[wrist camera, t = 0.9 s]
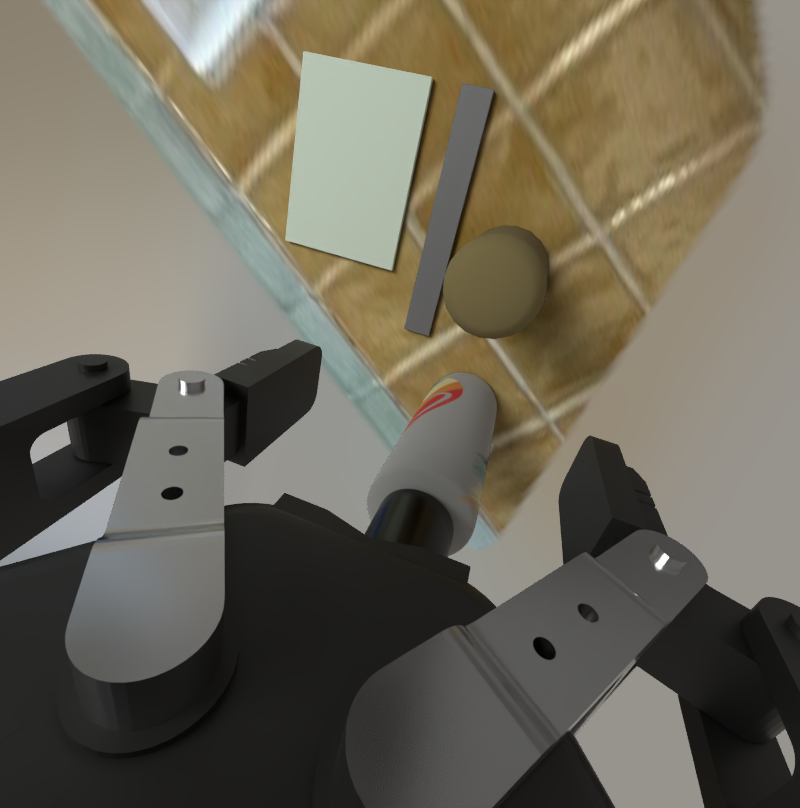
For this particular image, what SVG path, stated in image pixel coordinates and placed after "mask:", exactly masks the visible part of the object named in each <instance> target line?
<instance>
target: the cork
mask: <svg viewBox="0 0 800 808" xmlns="http://www.w3.org/2000/svg"><path fill="white" fill-rule="evenodd" d="M548 271H549V263H548V256H547V252H546V250H545V248H544V246H543V245H542V243H541V241H540V240H539V239H538V238H537V237H536V236H535V235H534V234H532V233H531V232H530V231H528V230H525V229H523V228H520V227H518V226H500V227H497V228H493V229H490V230H488V231H486V232H485V233H484V234H482V235H481V236H479V237H478V238H474V239H473V240H472V241H470V242H469V243H467V244H466V245H464V246H463V247H461V248H460V249H459V251H458V252H457V253H456V254H455V256H454V257H453V258H452V259H451V261H450V263H449V265H448V268H447V270H446V273H445V275H444V283H443V296H444V300H445V304H446V308H447V310H448V312H449V313H450V315H451V317H452V318H453V320H454V322H455V323H457V324H458V325H459V326H460V327H461V328H462V329H463V330H464V331H466V332H468V333H470V334H473V335H475V336H477V337H481V338H491V339H497V338H502V337H507V336H511V335H513V334H515V333H517V332H518V331H520V330H522V329H524V328H525V327H526V326H527V325H528V324H529V323H530V322H531V321H532V320H533V319H534V318H535V317H536V316H537V315H538V313H539V311H540V309H541V307H542V305H543V303H544V301H545V296H546V290H547V284H548V283H547V277H548Z"/></svg>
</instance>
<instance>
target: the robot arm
mask: <svg viewBox="0 0 800 808" xmlns="http://www.w3.org/2000/svg"><path fill="white" fill-rule="evenodd" d="M321 359H322V350H321V348H320V347H319V346H316V345H312V344H309V343H306V342H303V341H300V340H294V341H292V342H291V343H288V344H286V345H284V346H283V347H281V348H279V349H273V350H267V351H262V352H259V353H257V354H255V355H253V356H251V357H249V359H248V358H247V359H245V360H243V361H241V362H240V364H239V363H237V364H235V365H233V366H231V367H229V368H227V369H225V370H223V371H221V372H219V373H216V374H214V375H213V374H210V373H206V372H202V371H179V372H174V373H171V374H168V375H166V376H164V377H162V378H161V379H160V381H159V383H158V384H155V383H148V382H142V381H136V380H130V372H129V364H128V363H127V362H126V361H125V360H123V359H121V358H118V357H115V356H110V355H101V354H99V355H98V354H90V355H81V356H75V357H71V358H67V359H64V360H61V361H58V362H56V363H53V364H50V365H47V366H44V367H41V368H38V369H35V370H32V371H29V372H26V373H23V374H20V375H17V376H14V377H11V378H9V379H6V380H3V381H0V560H2V559H3V558H4V557H6V556H7V555H9V554H10V553H12V552H13V551H15V550H16V549H17V548H19V547H20V546H22V545H23V544H25V543H26V542H28V541H29V540H30V539H32V538H33V537H34V536H36V535H38V534H39V533H40V532H42V531H43V530H45V529H46V528H48V527H49V526H51V525H52V524H53V523H55V522H56V521H58V520H59V519H61V518H62V517H64V516H65V515H67V514H68V513H69V512H71V511H72V510H74V509H75V508H77V507H78V506H80V505H81V504H82V503H84V502H85V501H86V500H88V499H90V498H91V497H92V496H94V495H95V494H97V493H98V492H100V491H101V490H103V489H104V488H105V487H107V486H108V485H110V484H111V483H113V482H114V481H116V480H117V479H118V478H120V477H121V476H122V478H121V481H120V485H119V488H118V491H117V495H116V498H115V501H114V504H113V508H112V511H111V515H110V518H109V521H108V524H107V528H106V531H105V533H104V535H103V536H102V537H101V538H98V539H97V540H96V541H92V542H89V543H85V544H82V545H78V546H74V547H71V548H67V549H64V550H60V551H56V552H52V553H49V554H45V555H41V556H38V557H34V558H30V559H27V560H23V561H20V562H16V563H13V564H9V565H5V566H1V567H0V808H615V806H614V805H613V803H612V801H611V799H610V798H609V796H608V794H607V793H606V791H605V789H604V787H603V785H602V784H601V782H600V780H599V778H598V777H597V775H596V773H595V771H594V770H593V768H592V766H591V764H590V762H589V761H588V759H587V757H586V755H585V754H584V752H583V750H582V749H581V747H580V745H579V743H578V741H577V740H576V738H575V735H576V734H577V733H578V732H579V731H580V730H581V728H582V727H583V726H584V725H585V724H586V722H587V721H588V720H589V719H590V718H591V717H592V716H593V715H594V714H595V712H596V711H597V710H598V709H599V708H600V707H601V706H602V705H603V704H604V702H605V701H606V700H607V699H608V698H609V697H610V696H611V695H612V694H613V693H614V691H615V690H616V689H617V688H618V687H619V686H620V685H621V684H622V682H623V681H624V680H625V679H626V678H627V677H628V676H629V675H630V674H631V673H632V672H633V670H634V669H635V668H636V667H637V666H638V667H640V668H641V669H642V670H644V671H645V672H647V673H648V674H650V675H651V676H653V677H654V678H656V679H657V680H658V681H660V682H661V683H663V684H664V685H666V686H667V687H668V688H670V689H672V690H673V691H674V692H676V693H677V694H678V698H679V702H680V707H681V711H682V715H683V719H684V723H685V728H686V732H687V736H688V740H689V744H690V748H691V753H692V756H693V761H694V765H695V770H696V774H697V778H698V781H699V786H700V791H701V795H702V798H703V803H704V807H705V808H800V607H798V606H796V605H794V604H792V603H790V602H787V601H785V600H782V599H778V598H774V597H765V598H763V599H761V600H760V601H759V602H758V603H757V604H756V605H755V606H754V607H753V608H752V609H751V610H750V609H748V608H746V607H745V606H743V605H741V604H739V603H737V602H736V601H734V600H732V599H730V598H729V597H727V596H725V595H723V594H722V593H720V592H718V591H716V590H714V589H713V588H711V587H710V586H708V585H707V584H706V582H707V580H708V575H707V572H706V569H705V568H704V566H703V565H702V563H701V562H700V561H699V559H698V558H697V557H696V556H695V555H694V554H693V553H692V552H691V551H690V550H688V549H687V548H686V547H685V546H683V545H682V544H680V543H679V542H677V541H676V540H674V539H672V538H670V537H668V535H667V533H666V530H665V528H664V526H663V523H662V521H661V518H660V516H659V513H658V511H657V509H656V508H655V504H654V501H653V499H652V498H651V497H650V496H651V494H650V491H649V490H648V487H647V485H646V482H645V481H644V480H643V479H642V478H641V477H640V475H639V474H638V473H637V472H636V471H635V470H634V469H633V468H630V467H627V466H626V464H625V461H624V459H623V456H622V453H621V450H620V447H619V446H618V445H617V444H614V443H611V442H608V441H605V440H602V439H599V438H596V437H592V436H588V437H587V438H586V439H585V441H584V442H583V444H582V446H581V448H580V450H579V452H578V454H577V456H576V458H575V460H574V462H573V464H572V466H571V468H570V470H569V472H568V473H567V475H566V477H565V479H564V482H563V484H562V487H561V490H560V494H559V512H560V525H561V537H562V550H563V564H564V565H563V566H561V567H559V568H558V569H556V570H555V571H553V572H552V573H550V574H548V575H547V576H545V577H544V578H542V579H541V580H539V581H538V582H536V583H534V584H533V585H531V586H530V587H528V588H526V589H525V590H523V591H522V592H520V593H519V594H517V595H515V596H514V597H512V598H511V599H509V600H508V601H506V602H505V603H503V604H501V605H500V606H498V607H496V606H495V605H494V604H493V603H492V602H491V601H490V600H489V599H488V598H487V597H486V596H484V595H483V594H482V593H481V592H480V591H478V590H477V589H476V588H475V587H473V586H472V585H470V584H469V583H467V582H468V577H469V571H470V566H468V565H465V564H462V563H460V562H458V561H455V560H452V559H450V558H448V557H445V556H443V555H440V554H437V553H435V552H432V551H430V550H427V549H425V548H422V547H417V546H412V545H406V544H401V543H396V542H390V541H385V540H379V539H374V538H371V537H368V536H366V535H364V534H363V533H361V532H360V531H358V530H357V529H355V528H354V527H352V526H351V525H349V524H348V523H346V522H345V521H343V520H342V519H340V518H339V517H337V516H336V515H334V514H333V513H331V512H330V511H328V510H326V509H324V508H321V507H319V506H316V505H314V504H311V503H309V502H306V501H303V500H301V499H299V498H296V497H294V496H291V495H289V494H286V493H284V494H283V495H282V496H281V498H280V499H279V500H278V501H277V502H276V503H275V504H274V505H270V504H259V503H242V504H233V505H226V506H224V462H225V461H226V460H229V461H231V462H234V463H236V464H239V465H241V466H244V467H245V466H246V465H247V464H248V463H249V462H251V461H252V460H253V459H254V458H255V457H256V456H257V455H258V454H260V453H261V452H262V451H263V450H264V449H266V448H267V447H268V446H269V445H270V444H271V443H273V442H274V441H275V440H276V439H277V438H278V437H280V436H281V435H282V434H283V433H284V432H285V431H286V430H288V429H289V428H290V427H291V426H292V425H294V424H295V423H296V422H297V421H298V420H299V419H300V418H302V417H303V416H304V415H305V414H306V413H307V412H308V411H309V410H310V409H311V407H312V406H313V404H314V401H315V398H316V394H317V388H318V380H319V373H320V366H321ZM65 422H67V425H68V431H69V436H70V441H71V444H69V445H67V446H65V447H63V448H62V449H60V450H58V451H56V452H54V453H52V454H50V455H49V456H47V457H45V458H43V459H41V460H39V461H37V462H36V463H34V464H32V462H31V457H30V449H31V446H32V444H33V443H34V441H35V440H36V439H37V438H38V437H39V436H40V435H41V434H43V433H44V432H46V431H48V430H50V429H52V428H55V427H57V426H59V425H61V424H63V423H65ZM784 729H786V731H787V733H788V735H789V738H790V740H791V743H792V745H793V749H794V753H795V769H794V773H793V775H792V776H791V773H790V771H789V768H788V766H787V763H786V761H785V758H784V756H783V754H782V751H781V749H780V746H779V744H778V742H777V739H776V736H777V735H778V734H780V733H781V732H782V731H783V730H784Z"/></svg>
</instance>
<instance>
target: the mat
mask: <svg viewBox="0 0 800 808" xmlns="http://www.w3.org/2000/svg"><path fill="white" fill-rule="evenodd" d="M432 83H433V78H432V77H429V76H424V75H419V74H414V73H410V72H405V71H400V70H395V69H390V68H385V67H380V66H375V65H370V64H365V63H360V62H355V61H350V60H345V59H340V58H335V57H330V56H325V55H320V54H315V53H310V52H305V51H303V62H302V72H301V83H300V93H299V104H298V114H297V124H296V135H295V145H294V156H293V166H292V176H291V187H290V197H289V208H288V218H287V229H286V239H285V240H286V241H290V242H293V243H297V244H300V245H304V246H307V247H311V248H314V249H318V250H321V251H325V252H328V253H332V254H335V255H339V256H342V257H346V258H349V259H353V260H356V261H360V262H363V263H367V264H370V265H374V266H377V267H381V268H384V269H388V270H391V271H392V270H393V268H394V263H395V259H396V254H397V249H398V244H399V240H400V235H401V230H402V226H403V221H404V216H405V211H406V207H407V202H408V197H409V192H410V188H411V183H412V178H413V173H414V169H415V164H416V159H417V155H418V150H419V145H420V140H421V136H422V131H423V126H424V121H425V117H426V112H427V107H428V102H429V98H430V93H431V88H432Z"/></svg>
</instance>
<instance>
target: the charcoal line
mask: <svg viewBox="0 0 800 808" xmlns="http://www.w3.org/2000/svg"><path fill="white" fill-rule="evenodd" d="M493 95H494V89H489V88H484V87H479V86H474V85H469V84H464V83H463V84H462V88H461V92H460V96H459V101H458V105H457V109H456V113H455V118H454V122H453V126H452V130H451V134H450V139H449V143H448V147H447V151H446V155H445V160H444V164H443V168H442V172H441V176H440V181H439V185H438V189H437V193H436V198H435V202H434V206H433V210H432V214H431V219H430V223H429V227H428V231H427V235H426V240H425V244H424V248H423V252H422V257H421V261H420V265H419V269H418V273H417V278H416V282H415V286H414V290H413V294H412V299H411V303H410V307H409V311H408V315H407V320H406V324H405V328H404V329H407V330H410V331H413V332H417V333H420V334H423V335H426V336H429V335H430V331H431V327H432V324H433V320H434V316H435V312H436V309H437V305H438V301H439V297H440V294H441V290H442V286H443V282H444V275H445V273H446V270H447V267H448V264H449V260H450V256H451V252H452V249H453V245H454V241H455V237H456V234H457V230H458V226H459V222H460V219H461V215H462V211H463V207H464V204H465V200H466V196H467V192H468V189H469V185H470V181H471V178H472V174H473V170H474V166H475V163H476V159H477V155H478V151H479V148H480V144H481V140H482V136H483V133H484V129H485V125H486V121H487V118H488V114H489V110H490V106H491V103H492V99H493Z"/></svg>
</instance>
